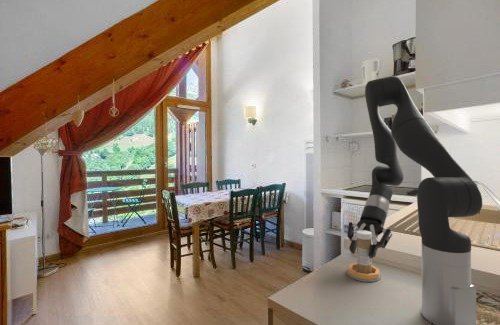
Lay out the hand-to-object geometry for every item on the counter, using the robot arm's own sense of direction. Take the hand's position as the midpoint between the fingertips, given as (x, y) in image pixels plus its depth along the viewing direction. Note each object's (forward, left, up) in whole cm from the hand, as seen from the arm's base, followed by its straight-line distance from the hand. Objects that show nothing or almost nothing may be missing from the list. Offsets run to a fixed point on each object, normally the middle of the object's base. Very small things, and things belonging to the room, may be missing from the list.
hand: (361, 254), depth 84 cm
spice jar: (+1, -2, -7) cm, 7 cm away
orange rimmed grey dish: (+1, -2, -7) cm, 7 cm away
